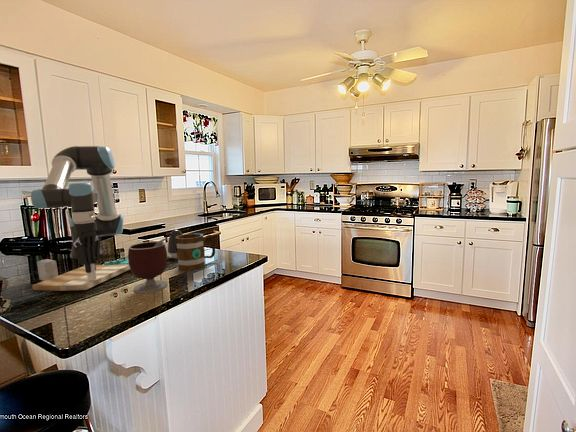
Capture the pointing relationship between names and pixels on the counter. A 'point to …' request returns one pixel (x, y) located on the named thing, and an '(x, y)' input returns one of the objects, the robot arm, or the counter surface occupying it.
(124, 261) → the alien figure
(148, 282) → the mate gourd
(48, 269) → the medicine box
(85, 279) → the ash plank
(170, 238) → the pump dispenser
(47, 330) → the counter surface
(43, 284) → the oak board
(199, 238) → the mug
